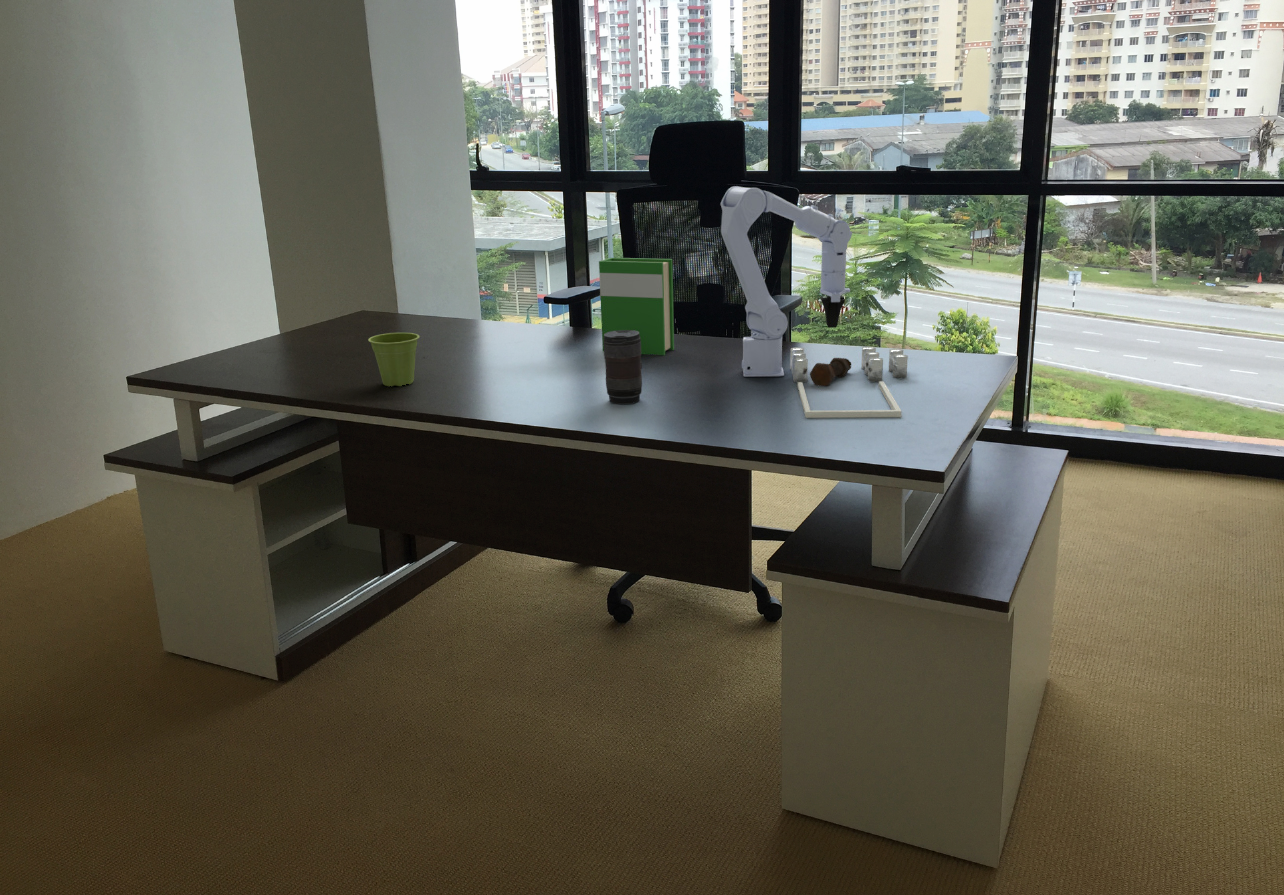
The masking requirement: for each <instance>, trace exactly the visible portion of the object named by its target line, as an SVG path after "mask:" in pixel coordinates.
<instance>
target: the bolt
mask: <svg viewBox="0 0 1284 895" xmlns="http://www.w3.org/2000/svg"><path fill="white" fill-rule="evenodd" d="M851 368H852V362H851V361H850V360H849V359H848V358H845V357H833V358H832V359H831V360H830V362H829V363H824V362H823V363H821V362H817V363H815V365H813V368H812V369H811V370H810V373H809V377H810V378H811V381H812V383H813V385H815V386H818V385H819V386H818V387H829V386H830V385H831V383H832V382H833V381H834V380H835V378H844V377H845V376H846V375H847V374H848V372H849V371H850V370H851Z"/></svg>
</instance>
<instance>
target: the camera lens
mask: <svg viewBox="0 0 1284 895" xmlns="http://www.w3.org/2000/svg"><path fill="white" fill-rule="evenodd" d="M603 340H604V341H603V345H604V352H603V356H604V357H603V358H604V363H605V364H604V366H605V387H606V393H607V395H608V400H609V402H610V403H613V404H616V405H630V404H636V403H638V402H640V400H641V398H640V397H641V394H642V392H643V391H642V389H643V388H642V387H643V381H642V380H643V377H642V369H643V367H642V366H643V365H642V360H641V359H642V354H641V339H640V335H639V332H638V331H634V330H618V331H611V332H607V333H605V334H604V339H603Z"/></svg>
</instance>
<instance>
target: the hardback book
mask: <svg viewBox="0 0 1284 895" xmlns="http://www.w3.org/2000/svg"><path fill="white" fill-rule="evenodd" d="M673 271H674V270H673V259H672V258H643V257H642V258H640V257H639V258H635V257H634V258H633V257H632V258H631V257H608V258H606V259H605V258H604V259H602V260H600V261H598V272H599V273H598V274H599V292H600V293H599V296H600V298H599V299H600V317H601V320H600V321H601V339H602V340H601V341H602V342H601V343H602V345H601V346H602V352H603V353H604V345H603V341H604V340H603V339H604V334H605V333H607V332H611V331H618V330H634V331H638V332H639V335H640V339H641V355H650V354H653V355H654V354H655V355H654V356H665V355H666V351H674V350H675V325H674V280H673V278H674V276H673ZM656 354H657V355H656ZM653 355H652V356H653Z"/></svg>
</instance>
